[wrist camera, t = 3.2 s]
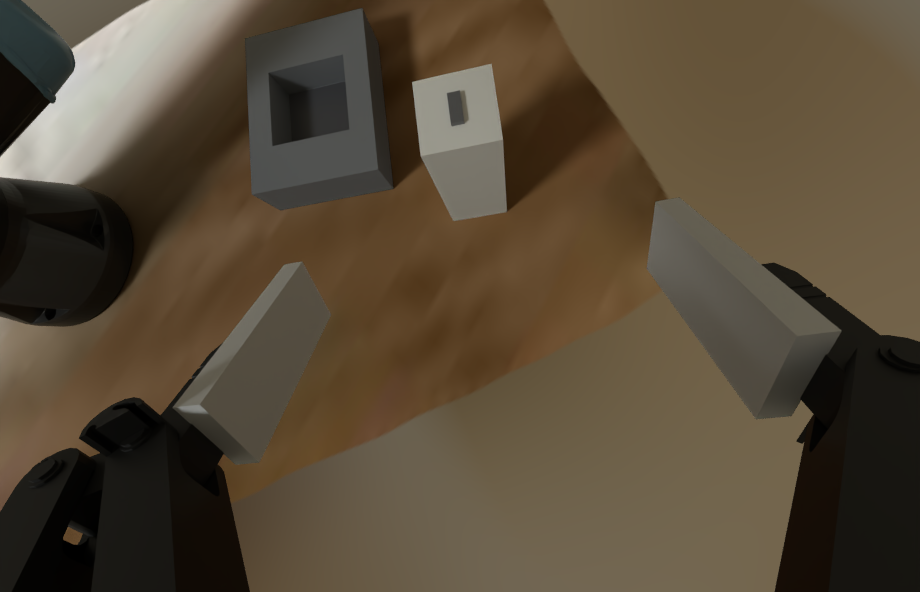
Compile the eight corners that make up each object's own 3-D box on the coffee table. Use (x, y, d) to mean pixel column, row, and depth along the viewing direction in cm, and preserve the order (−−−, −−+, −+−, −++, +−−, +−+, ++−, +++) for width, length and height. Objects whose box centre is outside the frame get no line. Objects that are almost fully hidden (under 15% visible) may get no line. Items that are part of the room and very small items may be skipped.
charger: (506, 211, 33) (503, 136, 21) (453, 221, 33) (419, 153, 21) (499, 161, 33) (491, 60, 21) (447, 171, 34) (410, 78, 22)
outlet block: (393, 188, 35) (378, 169, 31) (280, 210, 36) (251, 194, 32) (378, 43, 37) (362, 7, 33) (272, 69, 39) (245, 38, 35)
